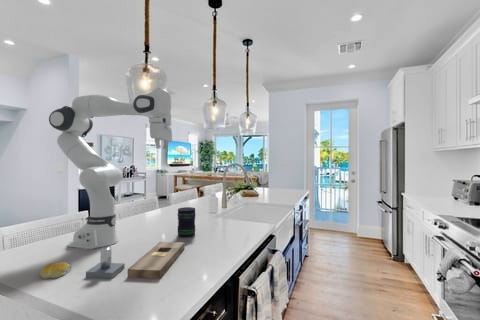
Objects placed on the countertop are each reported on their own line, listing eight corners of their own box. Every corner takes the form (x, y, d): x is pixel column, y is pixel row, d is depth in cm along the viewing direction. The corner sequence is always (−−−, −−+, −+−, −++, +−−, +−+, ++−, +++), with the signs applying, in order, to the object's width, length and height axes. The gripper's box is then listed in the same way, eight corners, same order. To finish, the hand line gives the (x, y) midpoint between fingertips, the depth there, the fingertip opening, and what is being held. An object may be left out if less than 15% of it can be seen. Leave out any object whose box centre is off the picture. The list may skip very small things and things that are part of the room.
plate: (85, 277, 88) (85, 271, 88) (99, 267, 96) (99, 262, 96) (112, 278, 88) (112, 272, 88) (124, 268, 96) (124, 263, 96)
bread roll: (48, 270, 95) (49, 259, 95) (73, 269, 96) (74, 258, 96) (33, 280, 86) (33, 269, 86) (61, 279, 87) (61, 267, 87)
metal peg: (98, 269, 90) (98, 250, 90) (104, 265, 94) (104, 246, 94) (107, 269, 90) (107, 250, 90) (113, 265, 94) (113, 247, 94)
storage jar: (174, 235, 139) (174, 208, 139) (189, 231, 146) (189, 206, 146) (182, 239, 132) (183, 211, 132) (198, 235, 138) (198, 209, 138)
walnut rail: (127, 277, 88) (127, 268, 88) (159, 248, 118) (160, 241, 118) (160, 278, 88) (160, 269, 88) (184, 248, 118) (184, 242, 118)
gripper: (163, 124, 134) (163, 149, 134) (147, 118, 114) (147, 147, 114) (175, 124, 134) (174, 149, 134) (160, 117, 113) (160, 147, 113)
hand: (161, 149), depth 124 cm, fingers open, 8 cm apart
